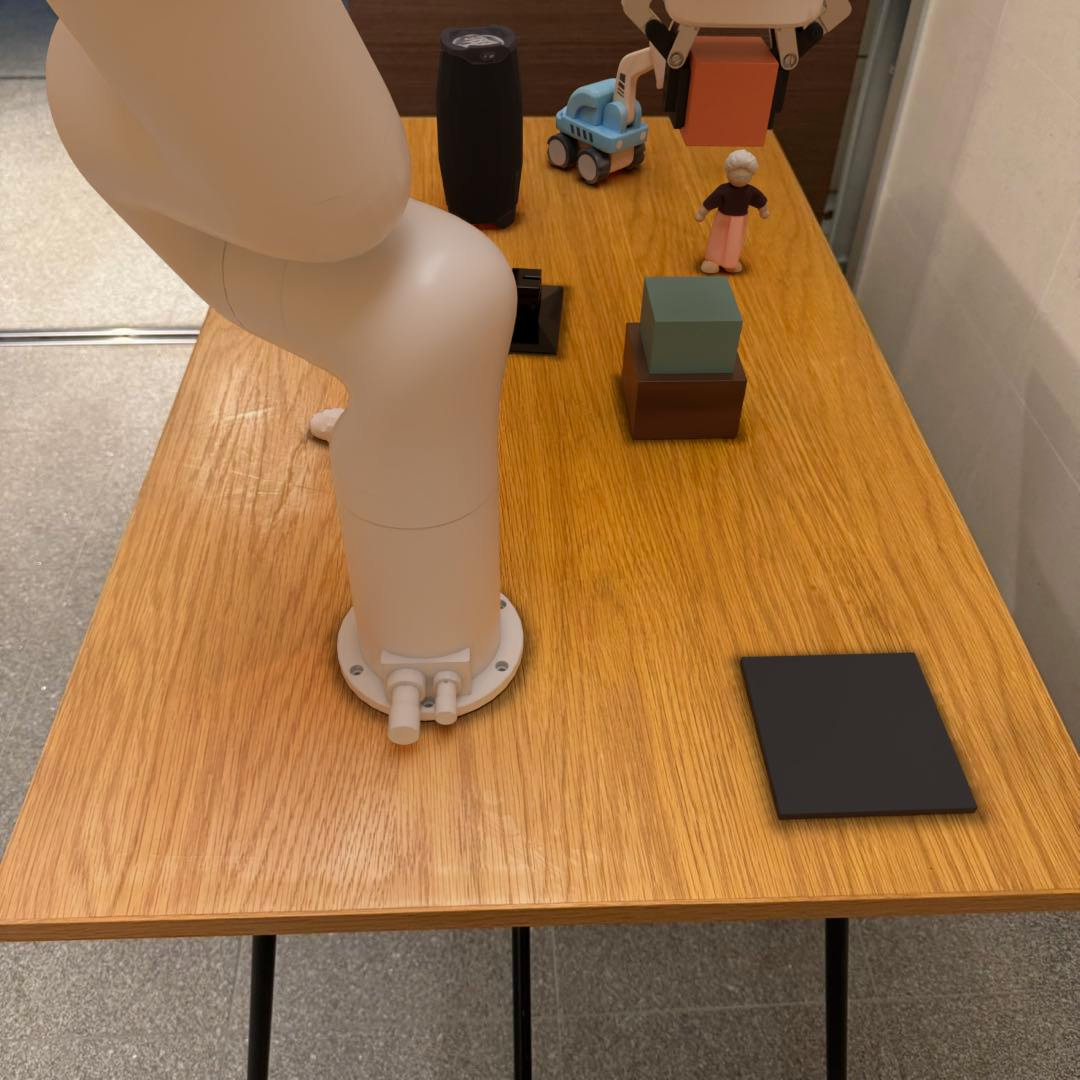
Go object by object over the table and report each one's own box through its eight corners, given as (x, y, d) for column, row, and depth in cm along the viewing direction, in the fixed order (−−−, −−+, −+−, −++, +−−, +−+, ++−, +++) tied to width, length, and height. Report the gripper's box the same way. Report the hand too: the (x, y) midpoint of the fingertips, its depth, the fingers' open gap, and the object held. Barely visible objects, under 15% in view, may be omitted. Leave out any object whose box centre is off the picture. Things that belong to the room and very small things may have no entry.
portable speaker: (427, 216, 114) (415, 33, 101) (488, 192, 119) (484, 14, 106) (477, 243, 110) (471, 55, 96) (538, 216, 115) (540, 34, 101)
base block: (736, 438, 86) (747, 380, 82) (632, 439, 85) (638, 381, 81) (717, 377, 92) (727, 321, 88) (621, 378, 92) (626, 322, 88)
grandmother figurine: (699, 280, 105) (716, 161, 96) (685, 262, 108) (700, 146, 99) (765, 271, 107) (788, 154, 98) (750, 254, 109) (771, 138, 101)
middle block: (733, 373, 82) (743, 320, 79) (649, 374, 82) (655, 321, 79) (718, 327, 87) (726, 275, 84) (639, 328, 87) (644, 276, 84)
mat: (975, 812, 60) (978, 807, 60) (778, 819, 59) (780, 814, 59) (912, 657, 69) (914, 651, 68) (739, 662, 68) (741, 656, 68)
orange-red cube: (764, 147, 69) (779, 63, 65) (685, 146, 69) (696, 62, 65) (747, 117, 73) (761, 36, 69) (673, 116, 73) (682, 35, 69)
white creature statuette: (376, 383, 91) (362, 262, 82) (454, 414, 88) (448, 292, 79) (306, 437, 85) (284, 313, 76) (387, 472, 82) (373, 347, 73)
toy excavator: (636, 208, 117) (650, 53, 105) (540, 162, 125) (543, 14, 114) (685, 187, 121) (703, 36, 109) (588, 144, 130) (596, 0, 118)
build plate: (556, 357, 94) (558, 314, 91) (480, 353, 95) (478, 310, 92) (563, 288, 103) (565, 247, 100) (493, 284, 104) (492, 243, 100)
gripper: (627, -188, 55) (603, 142, 67) (931, -180, 56) (853, 144, 68) (612, -207, 60) (593, 102, 73) (890, -200, 61) (824, 103, 74)
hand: (719, 119), depth 70 cm, fingers closed on orange-red cube, 5 cm apart
